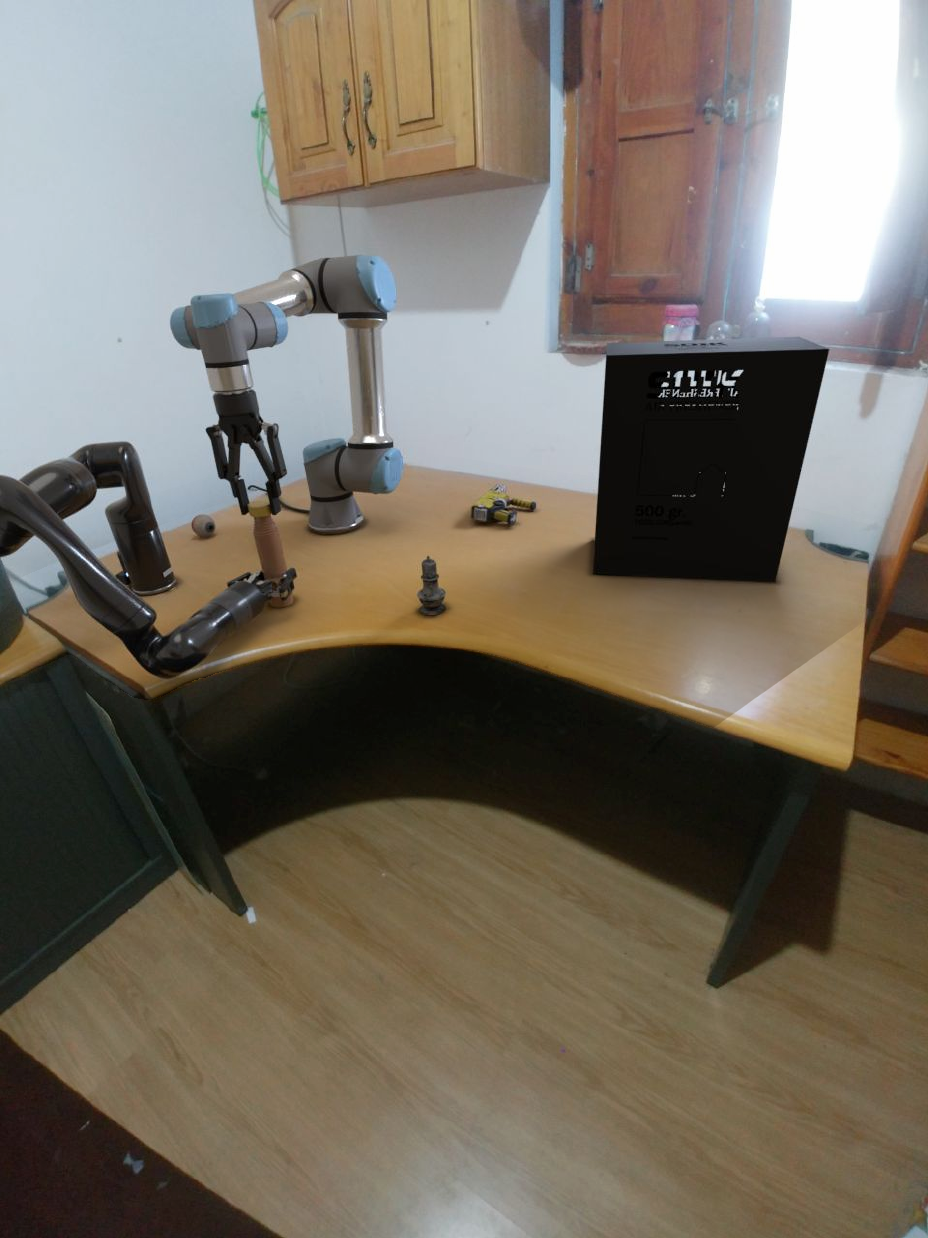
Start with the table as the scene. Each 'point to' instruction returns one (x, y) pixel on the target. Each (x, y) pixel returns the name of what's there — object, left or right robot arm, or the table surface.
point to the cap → (259, 508)
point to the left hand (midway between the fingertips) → (282, 570)
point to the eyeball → (203, 525)
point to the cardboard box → (703, 455)
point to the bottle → (270, 553)
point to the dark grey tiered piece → (431, 589)
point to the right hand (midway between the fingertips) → (261, 512)
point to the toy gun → (498, 506)
